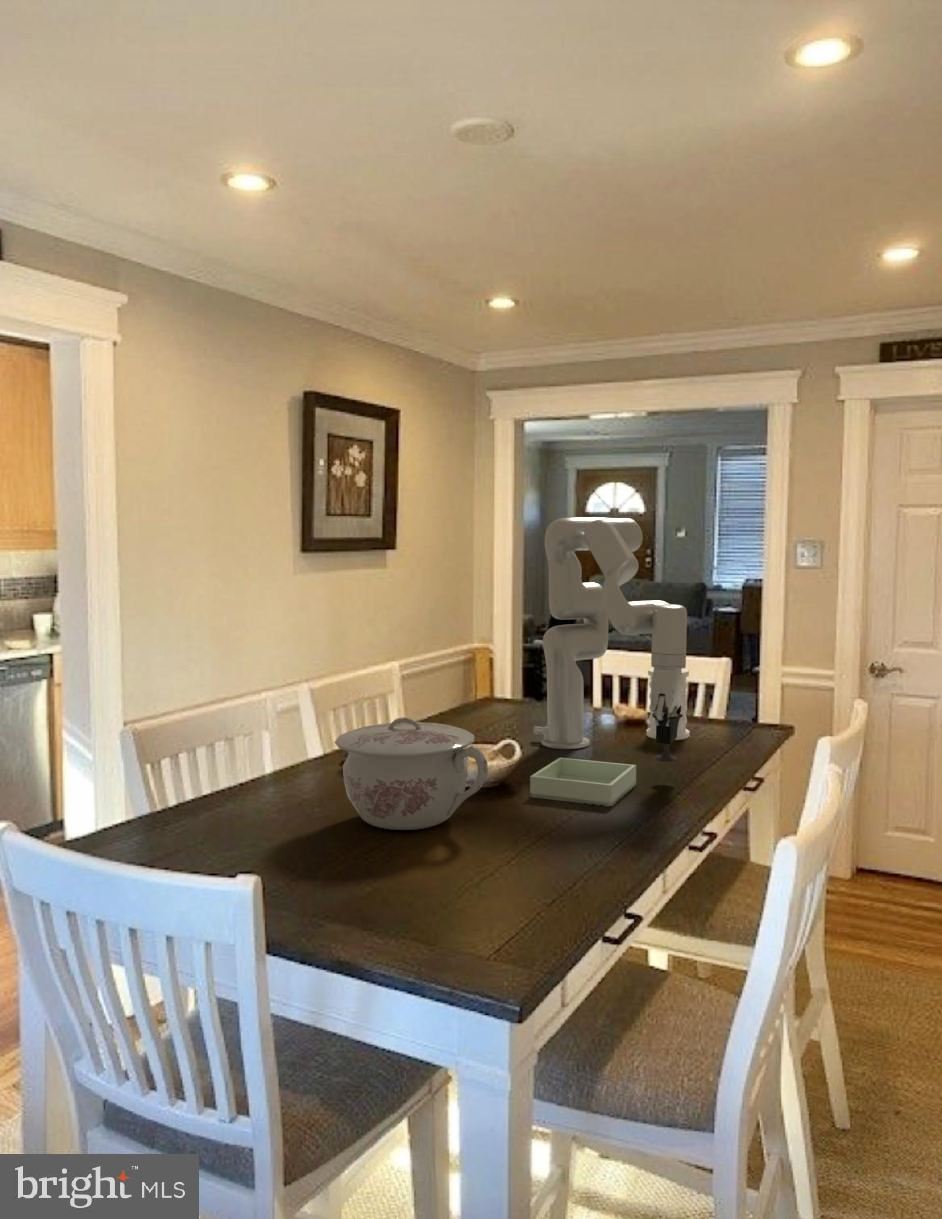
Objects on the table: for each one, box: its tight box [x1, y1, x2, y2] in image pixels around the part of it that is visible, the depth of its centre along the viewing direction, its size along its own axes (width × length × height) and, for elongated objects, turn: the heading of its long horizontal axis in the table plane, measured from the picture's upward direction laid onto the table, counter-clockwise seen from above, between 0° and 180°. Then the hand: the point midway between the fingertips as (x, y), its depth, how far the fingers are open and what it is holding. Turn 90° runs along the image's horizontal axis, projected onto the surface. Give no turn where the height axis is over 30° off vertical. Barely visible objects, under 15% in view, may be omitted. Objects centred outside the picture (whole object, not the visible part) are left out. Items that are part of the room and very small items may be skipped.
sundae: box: [652, 706, 683, 763], centre depth 215 cm, size 7×7×15 cm
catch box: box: [529, 757, 637, 807], centre depth 209 cm, size 18×18×4 cm
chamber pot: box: [334, 717, 489, 831], centre depth 189 cm, size 28×28×21 cm
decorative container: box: [646, 667, 691, 741], centre depth 262 cm, size 12×12×18 cm
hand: (666, 739), depth 216 cm, fingers closed on sundae, 5 cm apart
